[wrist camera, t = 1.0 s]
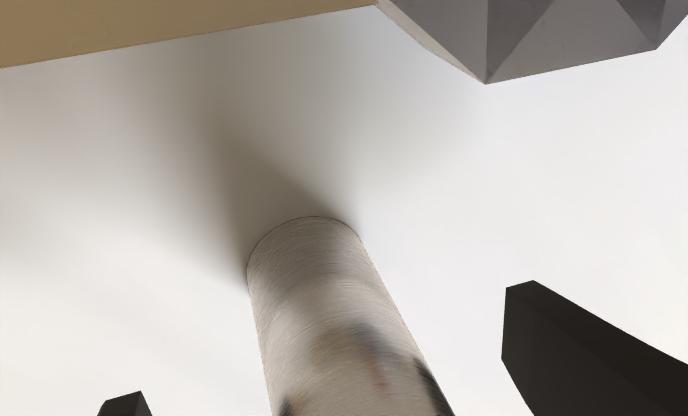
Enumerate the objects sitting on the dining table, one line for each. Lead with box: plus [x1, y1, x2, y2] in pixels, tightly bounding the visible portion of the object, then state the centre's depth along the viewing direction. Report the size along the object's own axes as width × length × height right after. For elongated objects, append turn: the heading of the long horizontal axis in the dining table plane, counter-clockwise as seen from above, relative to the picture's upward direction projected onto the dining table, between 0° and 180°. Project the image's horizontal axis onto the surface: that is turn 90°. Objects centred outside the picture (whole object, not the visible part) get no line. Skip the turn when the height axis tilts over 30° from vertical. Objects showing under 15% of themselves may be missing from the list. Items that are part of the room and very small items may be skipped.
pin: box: [247, 217, 455, 416], centre depth 10 cm, size 3×3×7 cm
